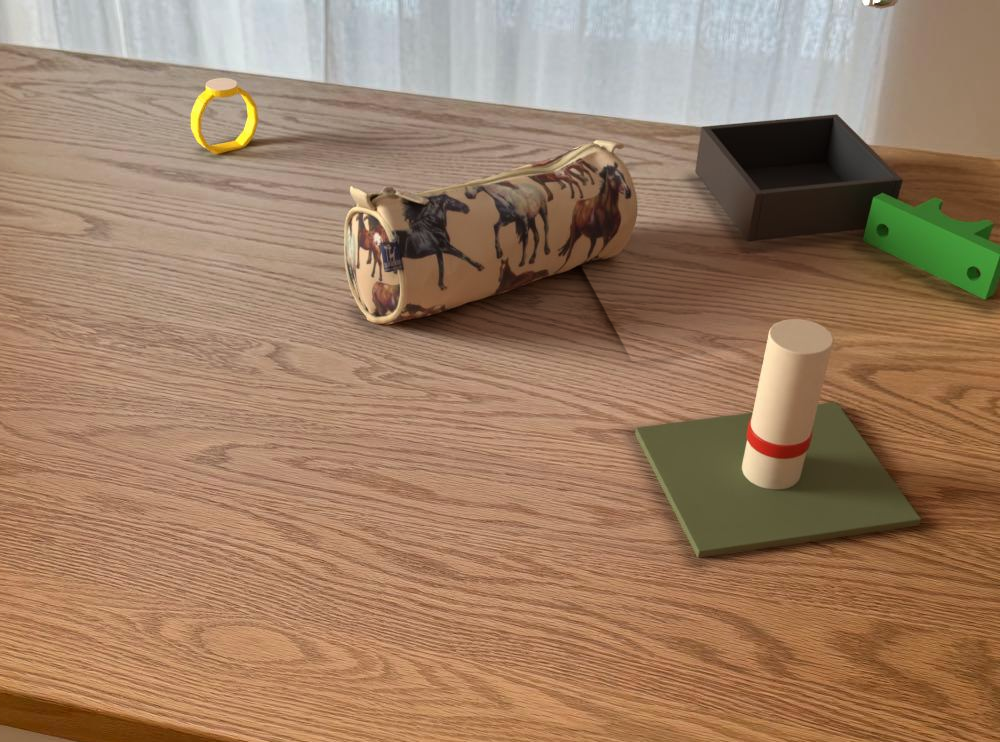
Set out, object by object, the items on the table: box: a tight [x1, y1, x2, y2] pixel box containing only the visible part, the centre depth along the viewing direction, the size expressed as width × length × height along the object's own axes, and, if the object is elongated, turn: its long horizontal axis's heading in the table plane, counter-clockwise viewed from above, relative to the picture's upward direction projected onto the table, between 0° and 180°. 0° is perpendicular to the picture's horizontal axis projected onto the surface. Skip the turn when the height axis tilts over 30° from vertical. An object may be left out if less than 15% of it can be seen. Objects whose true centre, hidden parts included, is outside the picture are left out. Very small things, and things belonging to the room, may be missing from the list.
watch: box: [190, 77, 259, 155], centre depth 109 cm, size 6×3×6 cm, turn 127°
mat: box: [634, 401, 922, 559], centre depth 77 cm, size 14×12×1 cm
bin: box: [695, 114, 904, 242], centre depth 102 cm, size 12×12×5 cm
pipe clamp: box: [862, 193, 1000, 301], centre depth 95 cm, size 11×4×5 cm, turn 39°
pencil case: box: [343, 139, 638, 326], centre depth 91 cm, size 22×8×10 cm, turn 120°
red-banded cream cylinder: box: [742, 318, 834, 490], centre depth 74 cm, size 4×4×10 cm
